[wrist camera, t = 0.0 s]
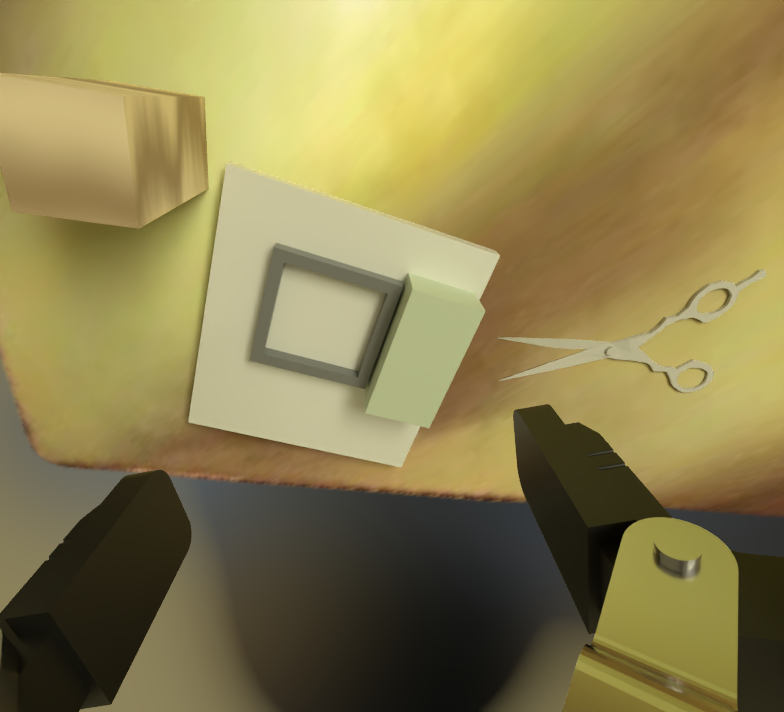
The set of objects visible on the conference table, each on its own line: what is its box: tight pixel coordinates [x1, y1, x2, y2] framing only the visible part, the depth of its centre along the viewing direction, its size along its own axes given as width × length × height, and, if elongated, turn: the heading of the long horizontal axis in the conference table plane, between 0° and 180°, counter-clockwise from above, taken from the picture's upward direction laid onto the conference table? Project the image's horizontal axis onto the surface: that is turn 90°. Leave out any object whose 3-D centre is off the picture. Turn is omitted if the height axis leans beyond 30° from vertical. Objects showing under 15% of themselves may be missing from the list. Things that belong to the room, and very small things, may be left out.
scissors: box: [499, 269, 766, 393], centre depth 35 cm, size 11×1×20 cm
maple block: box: [0, 73, 209, 229], centre depth 22 cm, size 5×5×10 cm
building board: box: [188, 161, 500, 467], centre depth 33 cm, size 20×18×2 cm
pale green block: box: [365, 273, 485, 428], centre depth 31 cm, size 10×5×3 cm, turn 161°
